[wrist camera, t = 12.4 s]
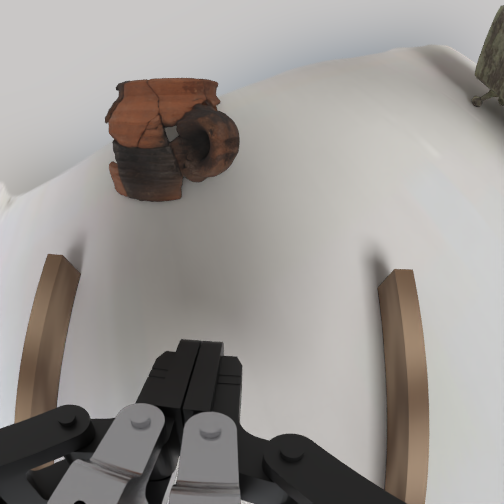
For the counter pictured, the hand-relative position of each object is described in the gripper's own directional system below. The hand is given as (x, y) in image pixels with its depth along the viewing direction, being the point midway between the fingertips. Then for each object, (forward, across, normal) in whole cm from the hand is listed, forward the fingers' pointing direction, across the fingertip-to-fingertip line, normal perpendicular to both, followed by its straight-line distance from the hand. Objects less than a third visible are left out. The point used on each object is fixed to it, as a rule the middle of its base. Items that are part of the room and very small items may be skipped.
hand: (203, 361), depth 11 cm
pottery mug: (+14, +4, -7) cm, 16 cm away
